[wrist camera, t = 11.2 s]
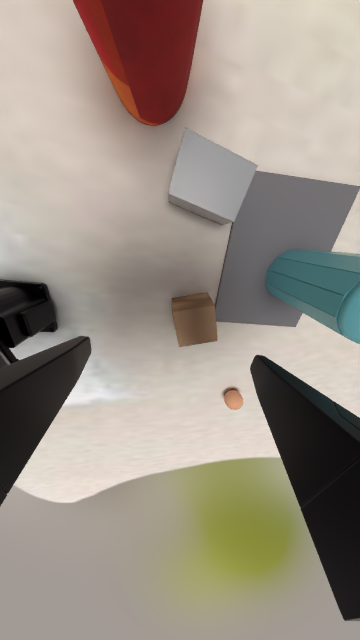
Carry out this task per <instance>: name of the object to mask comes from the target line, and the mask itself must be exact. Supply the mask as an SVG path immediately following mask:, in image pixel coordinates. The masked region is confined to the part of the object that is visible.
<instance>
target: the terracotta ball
mask: <svg viewBox="0 0 360 640" xmlns="http://www.w3.org/2000/svg"><path fill="white" fill-rule="evenodd" d="M224 400H225V403H226V405H227V406H228V407H229V408H230V409H233V410H237V409H239V408H241V406H242V404H243V398H242V396H241V394H240V393H239V392H237V391H235V390H230V391H228V392H227V393H226V394H225V397H224Z"/></svg>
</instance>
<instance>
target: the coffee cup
mask: <svg viewBox="0 0 360 640" xmlns="http://www.w3.org/2000/svg"><path fill="white" fill-rule="evenodd" d="M73 2H74V4H75V6H76V8H77V10H78V12H79V15H80V17H81V19H82V21H83V23H84V25H85V27H86V29H87V32H88V34H89V36H90V38H91V40H92V42H93V44H94V46H95V49H96V51H97V53H98V55H99V57H100V59H101V61H102V63H103V65H104V67H105V70H106V72H107V74H108V76H109V78H110V80H111V82H112V84H113V86H114V88H115V90H116V92H117V94H118V96H119V98H120V99H121V101H122V103H123V105H124V106H125V107H126V109H127V110H128V111H129V113H130V114H131V115H132V116H133V117H134V118H136V119H137V120H139V121H140V122H142V123H144V124H148V125H160V124H163V123H165V122H167V121H168V120H170V119H171V118H172V117H173V116H174V115H175V114H176V112H177V111H178V109H179V107H180V106H181V104H182V101H183V99H184V96H185V93H186V89H187V84H188V80H189V75H190V70H191V65H192V59H193V54H194V48H195V43H196V37H197V32H198V26H199V21H200V15H201V9H202V4H203V0H73Z"/></svg>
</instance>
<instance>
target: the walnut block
mask: <svg viewBox="0 0 360 640" xmlns="http://www.w3.org/2000/svg"><path fill="white" fill-rule="evenodd" d="M172 314H173V319H174V324H175V329H176V334H177V338H178V343H179V347H182V346H188V345H195V344H201V343H207V342H213V341H217V328H216V315H215V305H214V303H213V301H212V300H211V298H210V297H209V295H208V293H201V294H195V295H189V296H183V297H178V298H172Z"/></svg>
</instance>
